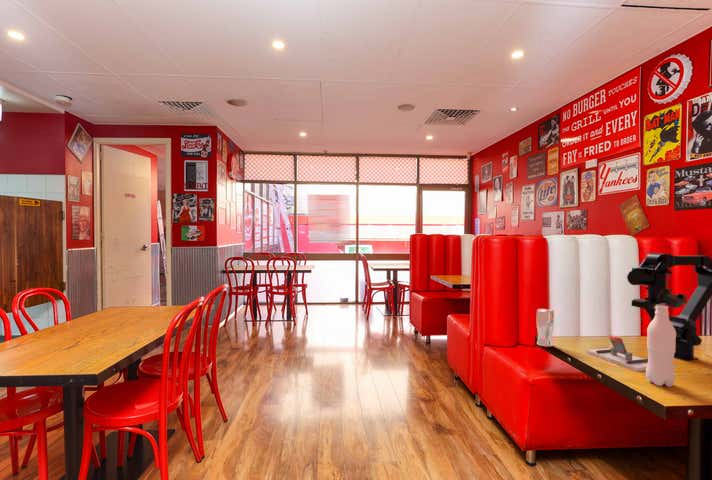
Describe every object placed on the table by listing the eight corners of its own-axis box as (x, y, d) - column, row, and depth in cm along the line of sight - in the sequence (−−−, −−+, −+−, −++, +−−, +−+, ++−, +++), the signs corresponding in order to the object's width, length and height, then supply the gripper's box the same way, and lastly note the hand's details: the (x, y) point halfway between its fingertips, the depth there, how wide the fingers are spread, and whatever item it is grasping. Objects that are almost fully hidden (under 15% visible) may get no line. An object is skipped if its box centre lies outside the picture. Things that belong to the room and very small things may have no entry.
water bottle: (639, 379, 118) (641, 304, 118) (659, 379, 119) (661, 304, 118) (660, 388, 111) (662, 308, 111) (681, 388, 112) (683, 308, 111)
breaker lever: (618, 350, 139) (611, 334, 138) (628, 353, 135) (621, 337, 134) (615, 352, 138) (608, 336, 137) (625, 356, 134) (618, 339, 133)
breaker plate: (609, 350, 148) (609, 341, 148) (662, 368, 129) (662, 358, 128) (586, 352, 145) (586, 343, 145) (636, 371, 125) (636, 360, 125)
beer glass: (549, 342, 158) (550, 309, 158) (556, 347, 151) (557, 312, 151) (533, 341, 159) (533, 308, 159) (539, 346, 152) (540, 311, 152)
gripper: (661, 288, 129) (660, 331, 129) (698, 287, 134) (697, 329, 134) (630, 284, 140) (629, 324, 140) (666, 283, 145) (665, 322, 145)
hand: (656, 325), depth 140 cm, fingers closed
